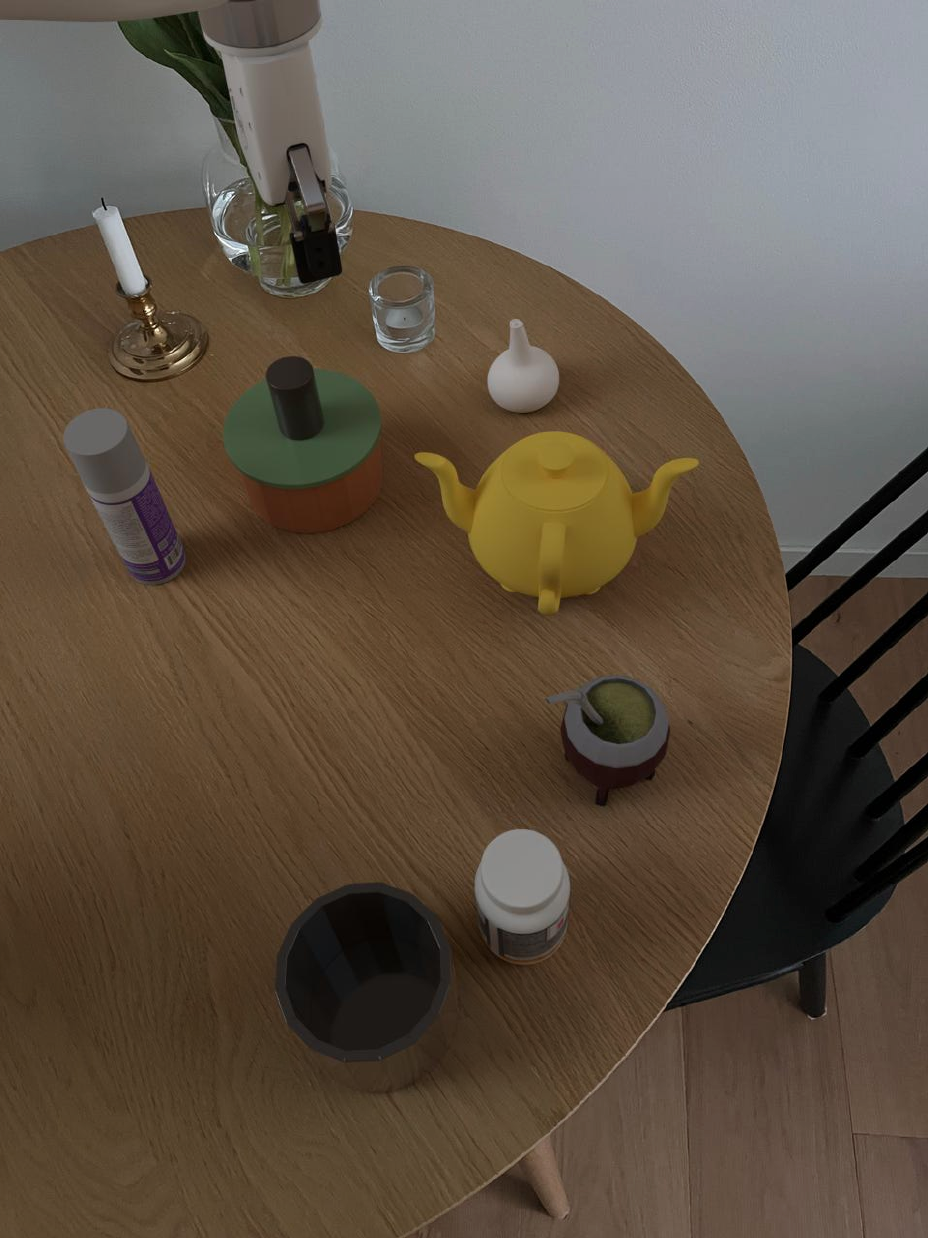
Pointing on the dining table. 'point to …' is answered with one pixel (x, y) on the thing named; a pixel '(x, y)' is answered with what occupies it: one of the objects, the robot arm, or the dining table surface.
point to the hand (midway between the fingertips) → (304, 237)
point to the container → (125, 495)
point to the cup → (369, 986)
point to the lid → (301, 426)
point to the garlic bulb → (522, 374)
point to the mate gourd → (613, 732)
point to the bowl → (319, 499)
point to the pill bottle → (522, 897)
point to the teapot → (553, 514)
